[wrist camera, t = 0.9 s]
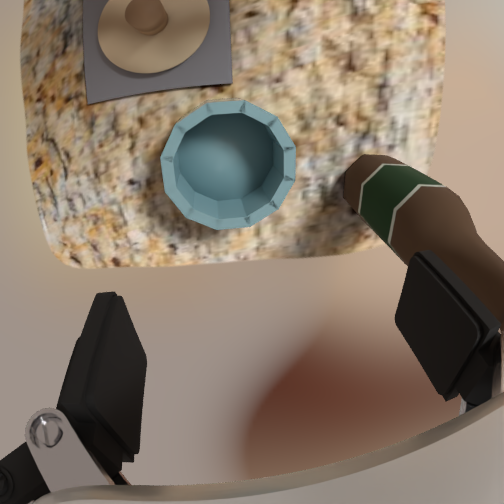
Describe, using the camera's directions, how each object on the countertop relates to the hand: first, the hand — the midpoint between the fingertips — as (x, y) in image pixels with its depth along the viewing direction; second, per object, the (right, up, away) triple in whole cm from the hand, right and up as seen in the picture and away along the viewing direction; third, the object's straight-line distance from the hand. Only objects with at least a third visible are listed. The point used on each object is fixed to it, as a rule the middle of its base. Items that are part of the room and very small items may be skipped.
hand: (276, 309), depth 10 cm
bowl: (-3, +11, +20) cm, 23 cm away
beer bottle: (+13, +10, +24) cm, 29 cm away
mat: (-10, +23, +12) cm, 28 cm away
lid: (-10, +23, +12) cm, 27 cm away
